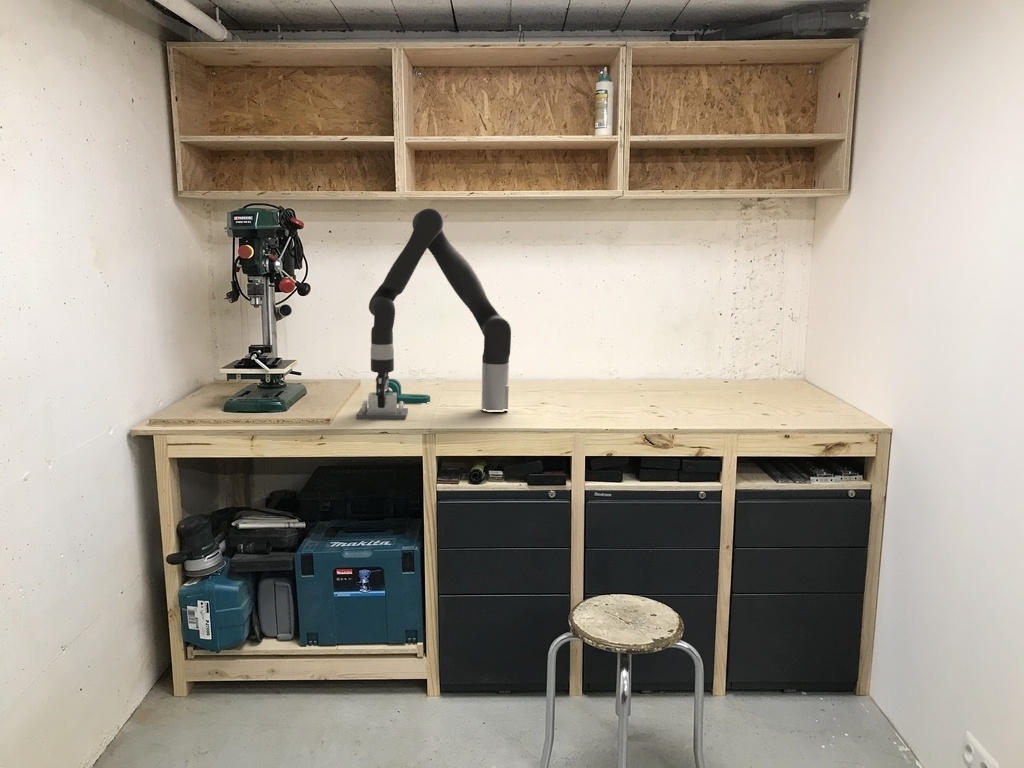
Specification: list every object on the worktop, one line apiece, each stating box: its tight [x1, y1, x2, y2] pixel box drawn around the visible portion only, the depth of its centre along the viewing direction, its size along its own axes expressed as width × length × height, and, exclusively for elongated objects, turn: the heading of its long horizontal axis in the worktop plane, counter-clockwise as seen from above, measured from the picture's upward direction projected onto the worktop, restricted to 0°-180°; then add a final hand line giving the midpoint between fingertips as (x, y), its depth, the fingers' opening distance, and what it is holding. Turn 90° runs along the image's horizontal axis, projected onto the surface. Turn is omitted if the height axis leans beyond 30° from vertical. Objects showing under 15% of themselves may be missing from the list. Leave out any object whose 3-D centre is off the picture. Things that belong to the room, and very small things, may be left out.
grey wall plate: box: [356, 400, 409, 421], centre depth 230 cm, size 16×10×4 cm, turn 94°
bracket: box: [379, 378, 431, 404], centre depth 251 cm, size 18×7×8 cm, turn 89°
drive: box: [367, 391, 398, 413], centre depth 229 cm, size 9×4×6 cm, turn 95°
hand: (382, 404), depth 229 cm, fingers open, 8 cm apart
